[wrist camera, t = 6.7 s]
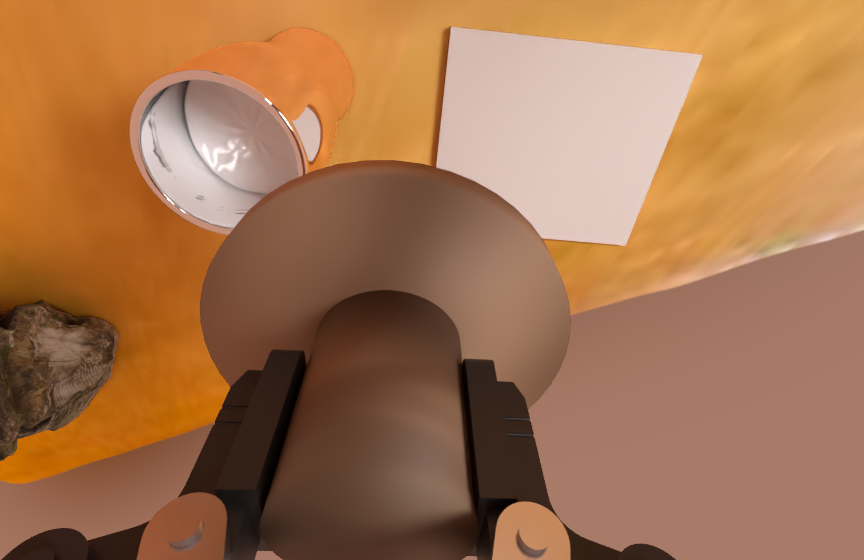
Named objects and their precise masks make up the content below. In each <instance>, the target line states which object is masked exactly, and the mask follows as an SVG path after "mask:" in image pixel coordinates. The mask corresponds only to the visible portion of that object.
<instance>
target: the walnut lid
mask: <svg viewBox="0 0 864 560" xmlns="http://www.w3.org/2000/svg"><path fill="white" fill-rule="evenodd" d="M200 317H201V326H202V331H203V336H204V340H205V343H206V346H207V348H208V351H209V353H210V356H211V358H212V360H213V362H214V363H215V365H216V367H217V369H218V370H219V372H220V374H221V375H222V376H223V378H224V379H225V380H226V382H227V383H228V384H229V385H230V387H231V386H232V385H233V384H234V383H235V382H236V381H237V380H238V379H239V378H240V377H241V376H242V375H243V374H244V373H245V372H246V371H247V370H263V368H264V366H265V363H266V361H267V359H268V356H269V354H270V352H271V351H272V350H273V349H279V350H301V351H304V352H305V357H306V365H307V366H306V369H305V373H304V376H303V380H302V383H301V386H300V390H299V393H298V396H297V400H296V403H295V406H294V410H293V413H292V416H291V420H290V423H289V426H288V430H287V433H286V436H285V440H284V443H283V446H282V450H281V453H280V457H279V460H278V463H277V467H276V470H275V473H274V477H273V480H272V483H271V487H270V490H269V493H268V497H267V500H266V503H265V507H264V510H263V513H262V517H261V521H260V531H261V535H262V537H263V540H264V542H265V543H266V544H267V546H268V547H269V548H270V549H271V550H272V551H273V552H274V553H275V554H276V555H277V556H279V557H280V558H281V559H283V560H462V559H463V558H465V557H466V556H467V555H468V554H469V553H470V552H471V550H472V549H473V548H474V546H475V544H476V542H477V539H478V533H479V529H478V520H477V515H476V510H475V499H474V489H473V478H472V467H471V457H470V446H469V436H468V425H467V414H466V404H465V393H464V383H463V372H462V362H463V359H486V360H493V362H494V365H495V371H496V377H497V381H504V382H514V384H515V385H516V386H517V388H518V389H519V391H520V392H521V393H522V395H523V396H524V398H525V400H526V404H527V408H528V409H529V408H530V407H531V406H532V405H533V404H534V403H535V402H536V401H537V400H539V398H540V397H541V396H542V395H543V393H544V392H545V391H546V390H547V388H548V387H549V386H550V385H551V383H552V381H553V380H554V378H555V376H556V375H557V373H558V371H559V369H560V367H561V365H562V362H563V360H564V358H565V355H566V351H567V347H568V343H569V338H570V324H571V317H570V308H569V300H568V297H567V293H566V290H565V287H564V283H563V281H562V278H561V276H560V274H559V272H558V269H557V267H556V265H555V263H554V260H553V258H552V256H551V254H550V252H549V250H548V248H547V246H546V244H545V242H544V241H543V239H542V238H541V237H540V235H539V234H538V232H537V231H536V230H535V228H534V227H533V225H532V224H531V223H530V222H529V221H528V220H527V219H526V218H525V217H524V216H523V215H522V214H521V213H520V212H519V211H518V210H517V209H516V208H515V207H514V206H512V205H511V204H510V203H508V202H507V201H506V200H504V199H503V198H502V197H501V196H499V195H498V194H497V193H495V192H493V191H491V190H489V189H488V188H486V187H484V186H482V185H481V184H479V183H477V182H475V181H473V180H471V179H468V178H466V177H463V176H461V175H458V174H456V173H453V172H451V171H448V170H444V169H440V168H436V167H432V166H428V165H424V164H419V163H411V162H403V161H395V160H366V161H358V162H351V163H343V164H337V165H333V166H330V167H326V168H322V169H318V170H315V171H312V172H309V173H307V174H304V175H302V176H300V177H297V178H295V179H293V180H290V181H288V182H286V183H285V184H283V185H282V186H280V187H278V188H277V189H275V190H273V191H272V192H270V193H269V194H267V195H266V196H265V197H263V198H262V199H261V200H260V201H259V202H258V203H256V204H255V205H254V206H253V207H252V208H251V209H249V211H248V212H247V213H246V214H245V215H244V217H243V218H242V219H241V220H240V221H239V222H238V224H237V225H236V226H235V227H234V229H233V230H232V231H231V233H230V234H229V235H228V237H227V238H226V240H225V241H224V242H223V244H222V245H221V246H220V248H219V250H218V251H217V253H216V255H215V257H214V258H213V260H212V262H211V264H210V266H209V268H208V271H207V274H206V277H205V280H204V283H203V287H202V294H201V300H200Z"/></svg>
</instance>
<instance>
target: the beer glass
mask: <svg viewBox="0 0 864 560" xmlns="http://www.w3.org/2000/svg"><path fill="white" fill-rule="evenodd" d="M353 92H354V80H353V74H352V70H351V67H350V64H349V62H348V60H347V58H346V56H345V55H344V53H343V52H342V51H341V49H340V48H339V47H338V46H337V45H336V44H335V43H334V42H333V41H332V40H331V39H329V38H328V37H326V36H325V35H323V34H321V33H319V32H317V31H314V30H311V29H306V28H293V29H288V30H285V31H283V32H281V33H279V34H277V35H276V36H275V37H273V38H272V39H271V40H270V41H269V43H268V42H237V43H232V44H228V45H224V46H221V47H217V48H214V49H211V50H209V51H207V52H204V53H202V54H200V55H198V56H196V57H194V58H192V59H190V60H189V61H187V62H185V63H184V64H182V65H181V66H179V67H177V68H176V69H174V70H173V71H172V72H170V73H169V74H166V75H164V76H162V77H160V78H158V79H157V80H155V81H154V82H152V83H151V84H150V85H149V86H147V87H146V88H145V90H144V91H143V92H142V93H141V95H140V96H139V97H138V99H137V101H136V103H135V105H134V107H133V110H132V114H131V118H130V125H129V137H130V145H131V149H132V153H133V156H134V159H135V162H136V164H137V167H138V169H139V171H140V173H141V175H142V176H143V178H144V180H145V181H146V183H147V184H148V186H149V187H150V188H151V190H152V191H153V192H154V193H155V194H156V196H157V197H158V198H159V199H160V200H161V201H162V202H163V203H164V204H165V205H166V206H168V207H169V208H170V209H171V210H172V211H174V212H175V213H176V214H178V215H179V216H181V217H182V218H184V219H185V220H187V221H189V222H191V223H192V224H194V225H197V226H199V227H201V228H203V229H206V230H209V231H212V232H215V233H219V234H224V235H229V234H230V233H231V231H232V230H233V229H234V227H235V226H236V225H237V224H238V222H239V221H240V220H241V219H242V218H243V217H244V215H245V214H246V213H247V212H248V211H249V209H251V208H252V207H253V206H254V205H255V204H256V203H258V202H259V201H260V200H261V199H262V198H263V197H265V196H266V195H267V194H269V193H270V192H272V191H273V190H275V189H277V188H278V187H280V186H282V185H283V184H285V183H286V182H288V181H290V180H293V179H295V178H297V177H300V176H302V175H304V174H307V173H309V172H312V171H315V170H318V169H322V168H325V167H326V165H327V162H328V160H329V158H330V155H331V153H332V150H333V146H334V141H335V135H336V128H337V121H338V120H339V119H340V118H341V117H342V116H343V115H344V114H345V112H346V111H347V109H348V108H349V106H350V104H351V101H352V98H353Z"/></svg>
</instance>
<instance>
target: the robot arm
mask: <svg viewBox="0 0 864 560" xmlns="http://www.w3.org/2000/svg"><path fill="white" fill-rule="evenodd" d="M306 366H307V365H306V357H305V352H304V351H301V350H279V349H273V350H272V351H271V352H270V354H269V356H268V359H267V361H266V363H265V366H264V368H263V370H247V371H246V372H245V373H244V374H243V375H242V376H241V377H240V378H239V379H238V380H237V381H236V382H235V383H234V384H233V385H232V386H231V388H230V390H229V392H228V394H227V397H226V399H225V401H224V403H223V405H222V406H223V407H222V409H221V410H220V412H219V414H218V416H217V418H216V420H215V425H213V427H212V429H211V431H210V433H209V436H208V438H207V440H206V442H205V444H204V446H203V448H202V450H201V453H200V455H199V457H198V459H197V461H196V463H195V466H194V468H193V470H192V472H191V474H190V477H189V479H188V481H187V483H186V485H185V487H184V489H183V490H182V492H181V494H180V495H179V496H178V498H176V499H174V500H172V501H171V502H169V503H168V504H166V505H165V506H164V507H162V508H161V509H160V510H159V511H158V512H157V513H156V514H155V515H154V516H153V518H152V519H151V520H150V521H148V522H146V523H144V524H142V525H139V526H136V527H133V528H130V529H127V530H123V531H120V532H116V533H113V534H109V535H106V536H102V537H99V538H95V539H92V540H88V541H87V540H86V538H85V537H84V536H83V535H82V534H81V533H80V532H78V531H76V530H73V529H69V528H59V529H53V530H48V531H45V532H43V533H40V534H38V535H35V536H33V537H31V538H30V539H28V540H26V541H24V542H23V543H21V544H20V545H18V546H17V547H16V548H14V549H13V550H12V551H11V552H10V553H8V554H7V555H6V556H5V557H4V558H3V559H2V560H255V556H256V552H257V551H272V550H271V549H270V548H269V547H268V546H267V544H266V543H265V542H264V540H263V537H262V535H261V531H260V521H261V517H262V513H263V510H264V507H265V503H266V500H267V497H268V493H269V490H270V487H271V483H272V480H273V477H274V473H275V470H276V467H277V463H278V460H279V457H280V453H281V450H282V446H283V443H284V440H285V436H286V433H287V430H288V426H289V423H290V420H291V416H292V413H293V410H294V406H295V403H296V400H297V396H298V393H299V390H300V386H301V383H302V380H303V376H304V373H305V369H306ZM462 372H463V383H464V393H465V404H466V414H467V425H468V436H469V446H470V457H471V467H472V478H473V489H474V499H475V510H476V515H477V520H478V529H479V533H478V539H477V542H476V544H475V546H474V548H473V549H472V550H471V552H470V553H469V554H468V555H467V556H477V559H478V560H675V559H674V558H673V557H672V556H670V555H669V554H668V553H666V552H664V551H663V550H661V549H659V548H657V547H655V546H651V545H648V544H634V545H630V546H628V547H627V548H625V549H624V550H623V551H622V552H620V551H617V550H614V549H612V548H609V547H606V546H604V545H601V544H598V543H596V542H593V541H590V540H588V539H585V538H583V537H581V536H579V535H578V534H576V533H574V532H573V531H572V530H570V529H569V528H568V527H567V526H566V525H565V524H564V523H563V522H562V521H561V520H560V519H559V518H558V516H557V515H556V513H555V511H554V510H553V508H552V506H551V503H550V500H549V497H548V493H547V489H546V485H545V480H544V476H543V472H542V468H541V463H540V459H539V455H538V451H537V446H536V442H535V438H534V437H533V430H532V425H531V422H530V417H529V412H528V408H527V404H526V400H525V398H524V396H523V395H522V393H521V392H520V391H519V389H518V388H517V386H516V385H515V384H514V382H504V381H497V377H496V371H495V365H494V362H493V360H486V359H463V362H462Z"/></svg>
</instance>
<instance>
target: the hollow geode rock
mask: <svg viewBox="0 0 864 560" xmlns="http://www.w3.org/2000/svg"><path fill="white" fill-rule="evenodd" d="M118 339H119V334H118V332H117V330H116V329H115V328H114V327H113V326H112V325H111V324H110V323H108V322H107V321H106V320H102V319H99V318H95V317H91V316H83V317H78V318H74V317H72V316H71V315H70V314H69V313H66V312H61V311H58V310H56V309H54V308H53V307H52V306H51V305H49V304H48V303H47V302H45V301H44V300H40V301H38V302H36V303H34V304H26V305H24V306H16V307H15V308H14V309H13V310H11V311H8V312H3V313H0V461H3V460H4V459H5V458H6V457H8V456H11V455H13V454H14V453H15V451H16V450H17V439H19V438H24V437H27V436H30V435H33V434H36V433H39V432H42V431H45V430H51V431H55V430H57V429H59V428H61V427H63V426H65V425H67V424H69V423H70V422H71V421H72V420H74V419H75V418H76V417H78V416H79V415H80V414H81V413H82V412H83V411H84V410H85V409H86V408H87V407H88V406H89V404H90V401H91V400H92V399H93V398H94V396H95V395H96V394H97V393H98V391H99V390H100V388H101V387H102V386H103V385H104V384H105V383H106V382H107V381H108V380H109V378H110V377H111V372H112V367H113V363H114V360H115V358H116V357H115V353H116V349H117V345H118Z"/></svg>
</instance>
